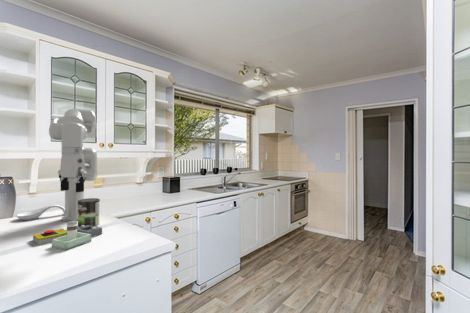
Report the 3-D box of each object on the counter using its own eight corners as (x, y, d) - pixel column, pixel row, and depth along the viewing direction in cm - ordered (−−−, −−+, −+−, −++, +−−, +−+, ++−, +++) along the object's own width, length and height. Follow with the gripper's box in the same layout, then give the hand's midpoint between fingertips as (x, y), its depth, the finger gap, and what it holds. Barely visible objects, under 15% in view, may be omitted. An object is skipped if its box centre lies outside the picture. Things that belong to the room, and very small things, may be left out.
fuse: (73, 240, 107) (73, 220, 107) (79, 241, 105) (79, 221, 105) (64, 243, 103) (64, 222, 103) (70, 244, 102) (70, 223, 102)
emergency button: (28, 232, 107) (67, 224, 119) (28, 242, 107) (67, 233, 119) (34, 237, 101) (74, 228, 113) (34, 247, 101) (74, 237, 113)
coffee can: (86, 229, 124) (86, 202, 124) (73, 227, 128) (73, 200, 128) (104, 224, 133) (104, 198, 133) (91, 222, 137) (91, 197, 137)
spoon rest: (15, 223, 135) (15, 210, 135) (17, 218, 145) (17, 206, 145) (66, 216, 150) (66, 205, 150) (65, 213, 159) (65, 202, 159)
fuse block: (87, 231, 122) (87, 223, 122) (102, 233, 118) (102, 225, 118) (74, 235, 115) (74, 227, 115) (88, 238, 111) (88, 230, 111)
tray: (77, 238, 111) (77, 231, 111) (91, 241, 108) (91, 234, 108) (51, 246, 101) (51, 239, 101) (66, 250, 98) (66, 242, 98)
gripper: (94, 151, 104) (94, 191, 104) (67, 151, 111) (67, 188, 111) (77, 151, 97) (77, 194, 98) (50, 151, 104) (50, 191, 104)
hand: (72, 191), depth 104 cm, fingers open, 9 cm apart
